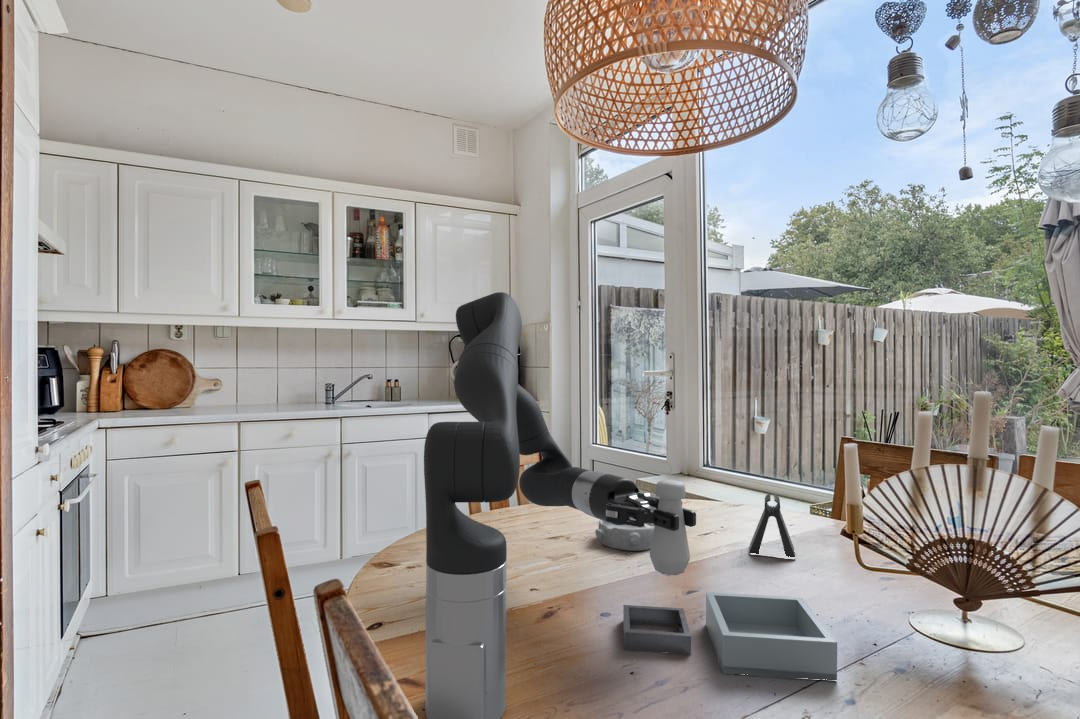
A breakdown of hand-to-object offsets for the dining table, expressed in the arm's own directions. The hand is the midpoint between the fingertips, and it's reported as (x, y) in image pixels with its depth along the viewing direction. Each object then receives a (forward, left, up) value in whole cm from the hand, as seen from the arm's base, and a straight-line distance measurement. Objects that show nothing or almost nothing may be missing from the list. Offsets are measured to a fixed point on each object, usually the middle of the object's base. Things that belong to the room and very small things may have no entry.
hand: (685, 521), depth 83 cm
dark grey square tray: (+2, +4, -18) cm, 18 cm away
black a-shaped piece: (+43, -23, -18) cm, 52 cm away
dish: (+46, +7, -18) cm, 50 cm away
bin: (0, -11, -18) cm, 21 cm away
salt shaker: (+2, +2, -8) cm, 8 cm away
